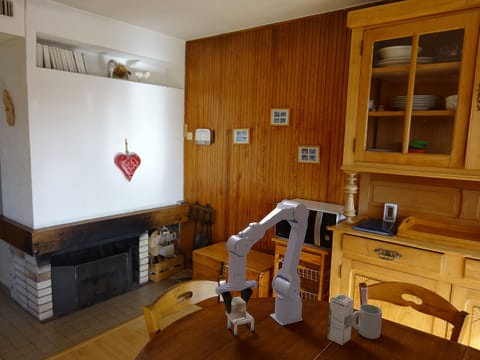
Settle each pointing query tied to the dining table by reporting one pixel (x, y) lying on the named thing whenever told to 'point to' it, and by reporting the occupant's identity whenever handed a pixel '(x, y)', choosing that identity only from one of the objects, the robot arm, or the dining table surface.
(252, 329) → the small white stool
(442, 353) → the dining table surface
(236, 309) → the birch block
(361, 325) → the cup
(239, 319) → the end pad
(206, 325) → the dining table surface
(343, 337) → the syrup box
